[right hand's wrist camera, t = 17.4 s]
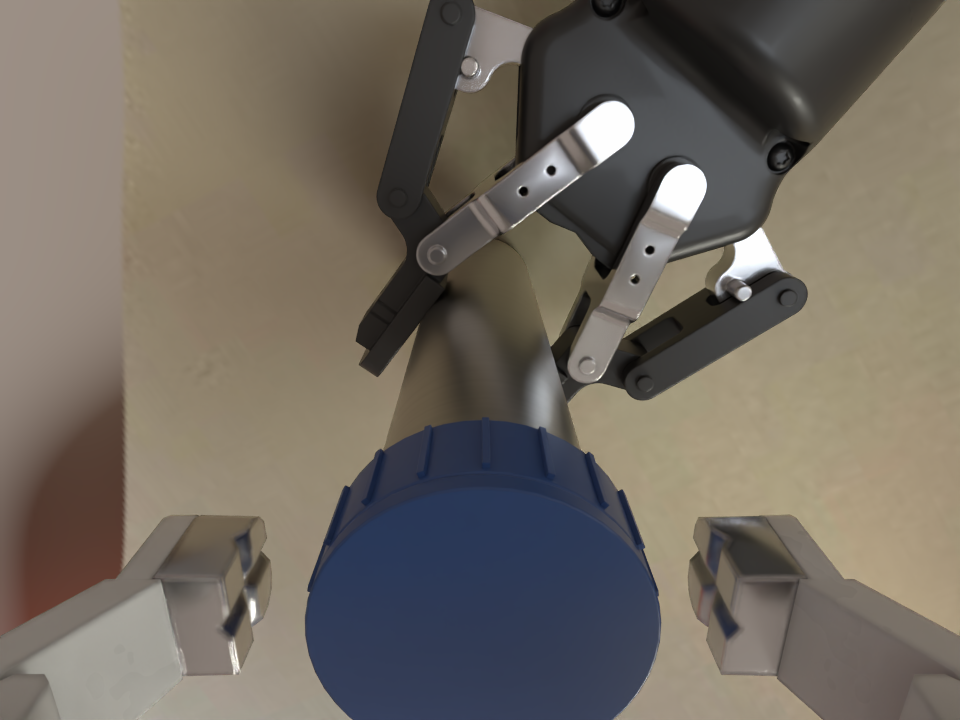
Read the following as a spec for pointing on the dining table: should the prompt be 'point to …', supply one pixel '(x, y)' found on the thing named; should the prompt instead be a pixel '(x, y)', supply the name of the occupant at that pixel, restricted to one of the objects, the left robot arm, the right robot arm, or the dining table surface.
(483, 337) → the silver metal cylinder
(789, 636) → the right robot arm
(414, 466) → the lid
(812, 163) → the dining table surface
